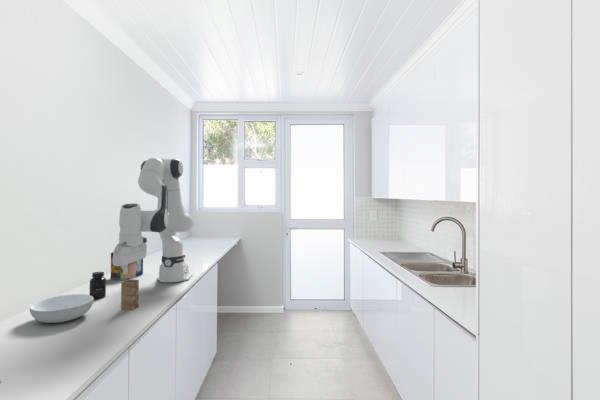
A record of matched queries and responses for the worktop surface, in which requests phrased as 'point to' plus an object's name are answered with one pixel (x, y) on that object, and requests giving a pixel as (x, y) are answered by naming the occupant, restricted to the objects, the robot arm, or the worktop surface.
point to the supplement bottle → (98, 285)
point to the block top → (129, 285)
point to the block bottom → (130, 304)
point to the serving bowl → (61, 308)
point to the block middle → (129, 295)
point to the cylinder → (131, 271)
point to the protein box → (118, 271)
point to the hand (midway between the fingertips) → (130, 272)
